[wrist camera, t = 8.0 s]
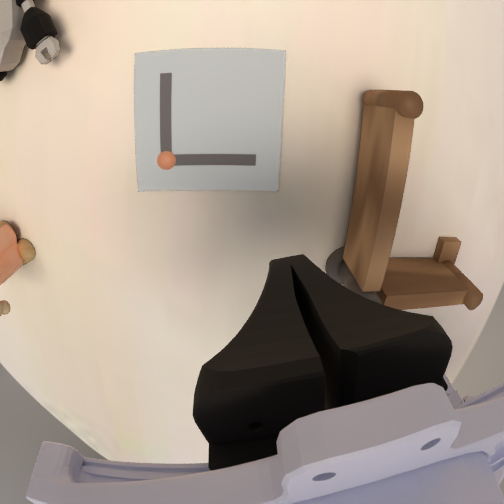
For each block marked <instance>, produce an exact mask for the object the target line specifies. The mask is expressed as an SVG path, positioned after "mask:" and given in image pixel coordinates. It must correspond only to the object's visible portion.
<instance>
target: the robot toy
mask: <svg viewBox="0 0 504 504" xmlns="http://www.w3.org/2000/svg"><path fill="white" fill-rule="evenodd" d="M33 1H34V0H0V81H2V80H3V79H4V77H5V76H6V74H7V71H9V70H13V69H14V68H15V67H16V66H17V65H18V64H19V63H20V60H21V56H22V52H23V49H24V46H25V45H26V44H27V47H28V48H30V49H36V55H35V57H36V58H37V59H38V61H39V62H40V63H41V64H48V63H49V62H51V61H52V60H51V59H50V56H49V53H50V55H51V58H55V57H57V56H58V55H59V53H60V46H59V41H58V40H57V39H55V38H54V37H55V36H56V35H57V34H58V33H57V31H56V29H55V26H54V24H53V22H52V20H51V17H50V15H48V14H47V13H45V12H44V11H42V10H40V9H38V8H36V7H35V4H34V2H33ZM48 51H49V53H48Z"/></svg>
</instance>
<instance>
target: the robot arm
mask: <svg viewBox="0 0 504 504" xmlns="http://www.w3.org/2000/svg"><path fill="white" fill-rule="evenodd" d="M451 352H452V342H451V340H450V338H449V337H448V335H447V334H446V332H445V331H444V330H443V328H442V327H441V325H440V324H439V323H438V322H437V321H436V320H435V318H434V317H433V316H428V315H422V314H416V313H411V312H406V311H402V310H399V309H395V308H392V307H388V306H385V305H382V304H380V303H377V302H375V301H372V300H370V299H367V298H365V297H363V296H361V295H359V294H357V293H355V292H353V291H351V290H349V289H348V288H346V287H344V286H343V285H341V284H340V283H338V282H337V281H335V280H334V279H332V278H331V277H330V276H328V275H327V274H326V273H325V272H323V271H322V270H321V269H320V268H318V267H317V266H316V265H315V264H314V263H313V262H311V261H310V260H309V259H308V258H307V257H306V256H305V255H303V254H302V255H296V256H291V257H285V258H280V259H275V260H271V262H270V263H269V272H268V277H267V280H266V283H265V286H264V289H263V292H262V294H261V296H260V298H259V301H258V303H257V305H256V307H255V309H254V310H253V312H252V314H251V315H250V317H249V319H248V320H247V322H246V323H245V324H244V326H243V327H242V329H241V330H240V331H239V332H238V334H237V335H236V336H235V337H234V338H233V339H232V340H231V341H230V342H229V344H228V345H227V346H226V347H225V348H224V349H222V350H221V351H220V352H219V353H218V354H217V355H215V356H214V357H213V358H212V359H210V360H209V361H208V362H207V363H205V364H204V365H203V366H202V368H201V371H200V374H199V377H198V381H197V385H196V388H195V393H194V404H193V417H194V420H195V423H196V424H197V426H198V427H199V429H200V431H201V432H202V434H203V435H204V437H205V438H206V440H207V441H208V443H209V463H196V464H156V463H134V462H120V461H110V460H100V459H92V458H85V457H83V456H82V455H81V454H80V453H79V452H78V451H77V450H76V449H75V448H73V447H71V446H69V445H65V444H60V443H54V442H48V441H43V443H42V446H41V449H40V451H39V454H38V457H37V460H36V464H35V467H34V470H33V473H32V476H31V479H30V483H29V487H28V490H27V493H26V498H27V499H28V500H30V501H31V502H33V503H35V504H504V496H503V494H502V491H501V489H500V487H499V484H500V483H501V481H502V479H503V477H504V382H503V383H501V384H499V385H497V386H496V387H493V388H491V389H490V390H488V391H486V392H484V393H482V394H480V395H478V396H470V395H467V396H466V397H465V398H463V400H464V402H463V401H462V399H461V397H460V395H459V394H458V392H457V391H455V390H454V389H453V387H452V385H451V383H450V382H449V380H448V378H447V377H446V375H445V371H446V368H447V365H448V362H449V360H450V357H451Z"/></svg>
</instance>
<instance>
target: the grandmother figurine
mask: <svg viewBox="0 0 504 504" xmlns="http://www.w3.org/2000/svg"><path fill="white" fill-rule="evenodd" d="M34 257H35V249H34V247H33V246H32V244H31V243H30V242H29V241H28V240H26V239H21V240H19V242H18V243H17V238H16V234H15V232H14V230H13V228H12V226H11V225H10V224H9V223H7V222H6V221H1V222H0V285H1V284H2V283H3V282H5V281H6V280H7V279H8V278H9V277H10V276H11V275H12V274H13V273H14V272H15V271H16V270H17V269H19V268H20V267H21V266H22V265H24V264H26V263H28V262H30V261H31V260H33V259H34ZM9 312H10V304H9V303H8V302H7V301H5V300H3V301H0V316H1V315H2V314H3V315H6V314H8V313H9Z"/></svg>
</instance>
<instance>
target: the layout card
mask: <svg viewBox="0 0 504 504" xmlns="http://www.w3.org/2000/svg"><path fill="white" fill-rule="evenodd" d="M285 61H286V51H284V50H271V49H253V48H192V49H174V50H161V51H151V52H141V53H135V64H134V123H135V150H136V168H137V182H138V192H140V191H192V190H224V191H277V192H278V186H279V171H280V155H281V138H282V121H283V102H284V83H285Z"/></svg>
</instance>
